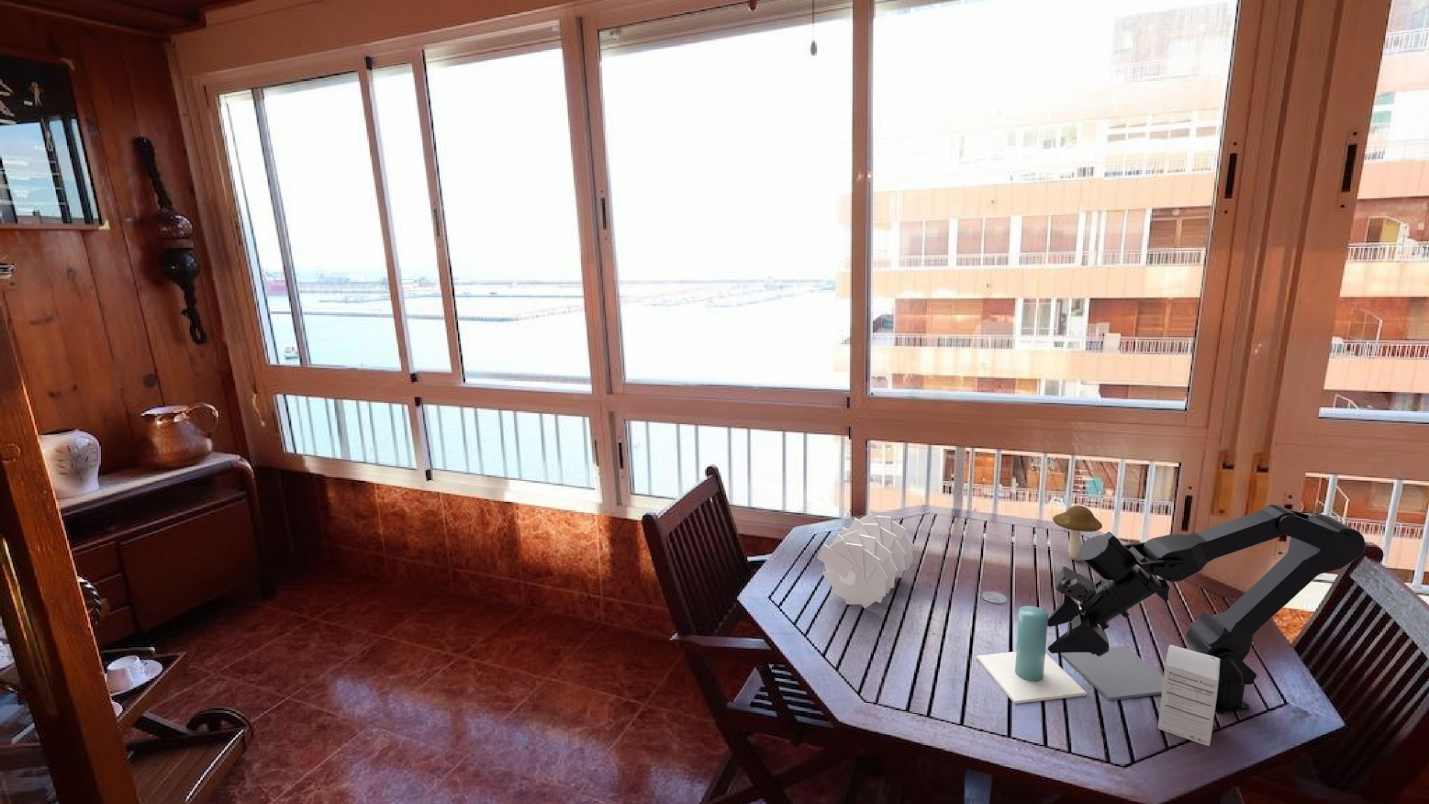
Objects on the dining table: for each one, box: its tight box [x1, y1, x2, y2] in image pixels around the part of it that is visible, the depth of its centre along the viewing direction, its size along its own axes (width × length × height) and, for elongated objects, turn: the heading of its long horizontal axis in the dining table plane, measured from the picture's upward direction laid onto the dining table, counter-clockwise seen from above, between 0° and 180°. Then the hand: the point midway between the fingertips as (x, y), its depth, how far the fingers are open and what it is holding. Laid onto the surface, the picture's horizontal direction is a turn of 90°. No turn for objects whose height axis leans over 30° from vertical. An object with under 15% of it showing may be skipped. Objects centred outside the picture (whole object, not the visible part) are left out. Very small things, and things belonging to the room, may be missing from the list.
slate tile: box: [1060, 645, 1164, 701], centre depth 127 cm, size 14×14×1 cm
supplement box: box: [1157, 644, 1220, 747], centre depth 112 cm, size 7×7×13 cm
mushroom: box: [1052, 505, 1103, 562], centre depth 172 cm, size 9×11×15 cm
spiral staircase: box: [816, 512, 915, 609], centre depth 161 cm, size 18×18×25 cm
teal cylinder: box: [1015, 605, 1049, 682], centre depth 126 cm, size 5×5×13 cm
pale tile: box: [975, 651, 1087, 704], centre depth 128 cm, size 14×14×1 cm
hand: (1048, 637), depth 125 cm, fingers open, 9 cm apart
